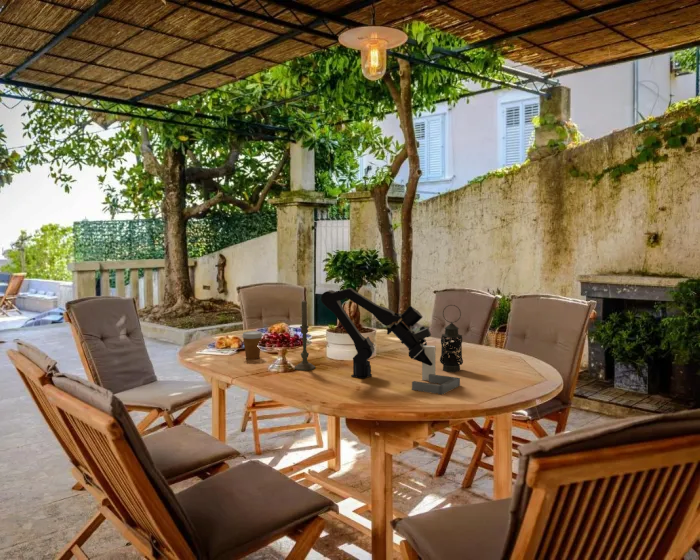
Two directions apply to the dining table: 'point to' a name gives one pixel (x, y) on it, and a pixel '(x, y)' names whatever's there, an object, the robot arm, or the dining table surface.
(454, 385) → the frame
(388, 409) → the dining table surface
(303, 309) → the candlestick holder
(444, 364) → the lantern
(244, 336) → the disposable coffee cup
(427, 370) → the post
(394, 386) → the dining table surface
